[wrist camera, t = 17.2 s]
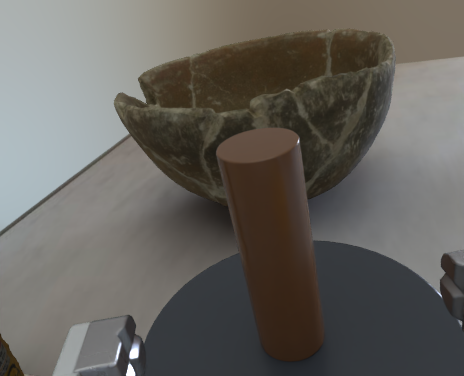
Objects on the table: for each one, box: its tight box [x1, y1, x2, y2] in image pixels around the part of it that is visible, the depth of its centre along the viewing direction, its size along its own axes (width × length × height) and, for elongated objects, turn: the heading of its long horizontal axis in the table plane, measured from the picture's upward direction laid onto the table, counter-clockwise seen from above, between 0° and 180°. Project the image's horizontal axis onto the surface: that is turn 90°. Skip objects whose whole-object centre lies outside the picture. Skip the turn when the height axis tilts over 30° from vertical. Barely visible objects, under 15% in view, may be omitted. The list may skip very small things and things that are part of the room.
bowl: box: [114, 29, 396, 206], centre depth 45 cm, size 28×27×15 cm
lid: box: [144, 128, 464, 376], centre depth 16 cm, size 14×14×10 cm
